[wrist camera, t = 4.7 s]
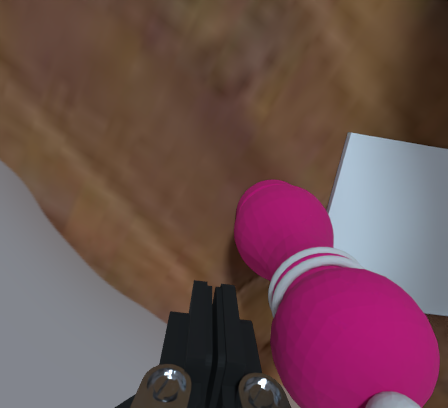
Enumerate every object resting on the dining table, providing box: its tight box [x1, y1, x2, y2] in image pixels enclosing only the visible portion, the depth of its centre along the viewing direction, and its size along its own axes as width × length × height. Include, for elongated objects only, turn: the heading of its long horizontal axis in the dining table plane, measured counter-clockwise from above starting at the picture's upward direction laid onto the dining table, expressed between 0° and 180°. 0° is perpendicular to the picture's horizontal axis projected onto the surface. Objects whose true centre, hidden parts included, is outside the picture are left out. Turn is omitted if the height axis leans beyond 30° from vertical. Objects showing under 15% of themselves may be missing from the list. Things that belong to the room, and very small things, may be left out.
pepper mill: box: [234, 180, 440, 408], centre depth 17 cm, size 7×7×20 cm
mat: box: [326, 132, 448, 316], centre depth 28 cm, size 16×20×1 cm
